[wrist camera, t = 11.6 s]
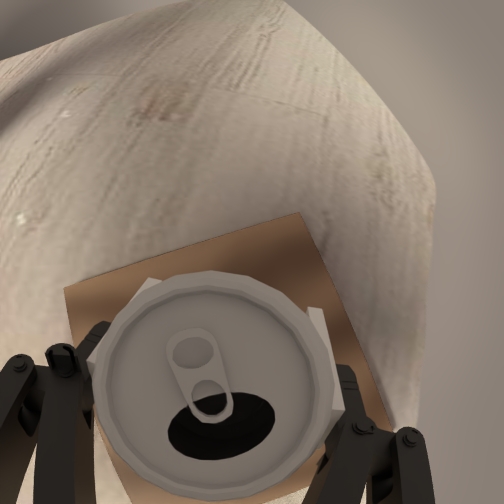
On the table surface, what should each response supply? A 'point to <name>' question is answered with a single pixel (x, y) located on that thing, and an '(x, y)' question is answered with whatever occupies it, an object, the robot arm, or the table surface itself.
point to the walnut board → (248, 264)
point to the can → (213, 386)
